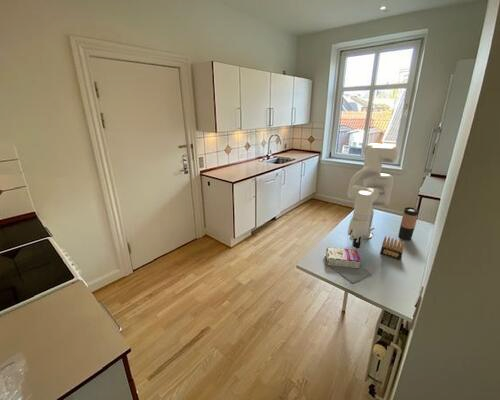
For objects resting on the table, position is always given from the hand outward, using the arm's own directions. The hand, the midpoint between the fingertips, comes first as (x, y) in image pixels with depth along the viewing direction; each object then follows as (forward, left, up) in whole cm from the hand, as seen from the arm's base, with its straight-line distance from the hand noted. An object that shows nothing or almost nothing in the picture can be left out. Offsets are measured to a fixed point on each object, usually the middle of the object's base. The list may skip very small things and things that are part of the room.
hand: (355, 247), depth 125 cm
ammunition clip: (-27, +3, -13) cm, 30 cm away
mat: (+3, 0, -13) cm, 13 cm away
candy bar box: (-5, -1, -10) cm, 11 cm away
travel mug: (-54, -6, -13) cm, 56 cm away
